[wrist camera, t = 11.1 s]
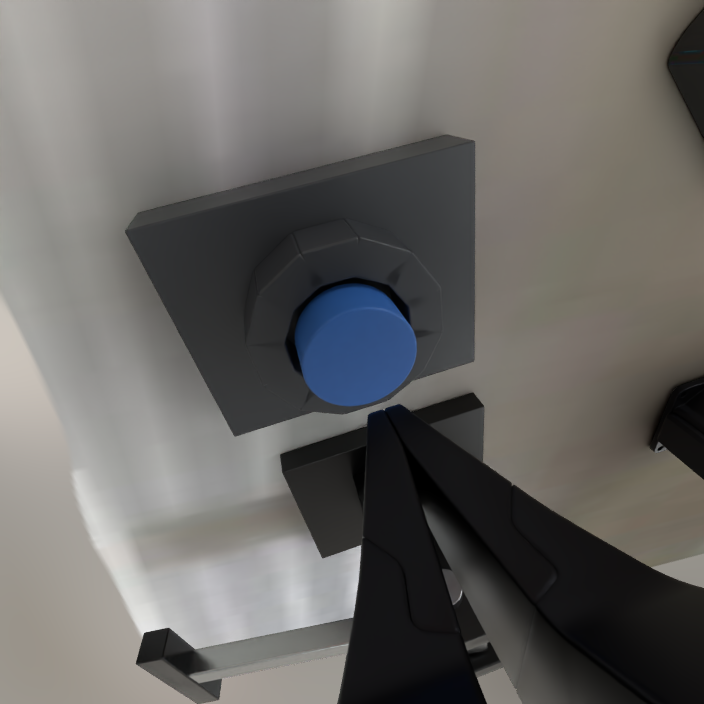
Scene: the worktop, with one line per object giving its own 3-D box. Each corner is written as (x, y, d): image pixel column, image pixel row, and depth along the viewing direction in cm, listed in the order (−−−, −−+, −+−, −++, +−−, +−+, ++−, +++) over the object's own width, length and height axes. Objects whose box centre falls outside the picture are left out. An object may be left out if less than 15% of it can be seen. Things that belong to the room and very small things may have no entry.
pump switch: (447, 134, 14) (512, 148, 11) (454, 338, 19) (498, 389, 16) (136, 212, 13) (106, 255, 10) (234, 406, 18) (234, 474, 15)
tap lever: (204, 660, 20) (194, 722, 19) (148, 614, 17) (129, 685, 15) (469, 607, 20) (487, 664, 18) (468, 549, 17) (491, 613, 15)
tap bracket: (319, 541, 26) (357, 739, 18) (279, 454, 21) (309, 680, 13) (473, 487, 27) (572, 653, 19) (473, 391, 22) (610, 565, 14)
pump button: (391, 269, 12) (412, 292, 11) (403, 358, 15) (421, 387, 13) (280, 300, 12) (287, 329, 11) (309, 387, 14) (317, 420, 13)
